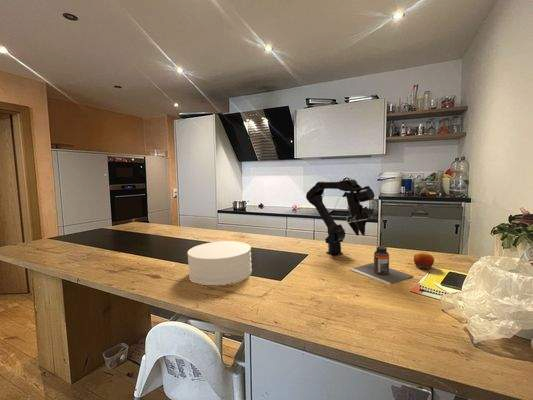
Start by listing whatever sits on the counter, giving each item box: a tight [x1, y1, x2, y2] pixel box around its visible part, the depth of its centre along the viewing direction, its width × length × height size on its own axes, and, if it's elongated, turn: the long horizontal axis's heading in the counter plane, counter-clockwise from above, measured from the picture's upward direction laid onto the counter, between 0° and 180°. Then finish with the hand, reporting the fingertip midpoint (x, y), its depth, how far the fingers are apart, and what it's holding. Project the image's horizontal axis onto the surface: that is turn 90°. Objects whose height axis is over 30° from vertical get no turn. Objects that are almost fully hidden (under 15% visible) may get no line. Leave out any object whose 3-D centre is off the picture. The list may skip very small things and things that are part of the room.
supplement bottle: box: [373, 245, 390, 275], centre depth 115 cm, size 6×6×11 cm
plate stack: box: [187, 240, 253, 286], centre depth 122 cm, size 28×28×12 cm
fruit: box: [413, 251, 435, 271], centre depth 121 cm, size 8×8×8 cm
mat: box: [349, 262, 414, 286], centre depth 116 cm, size 20×16×1 cm
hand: (360, 235), depth 131 cm, fingers open, 9 cm apart
